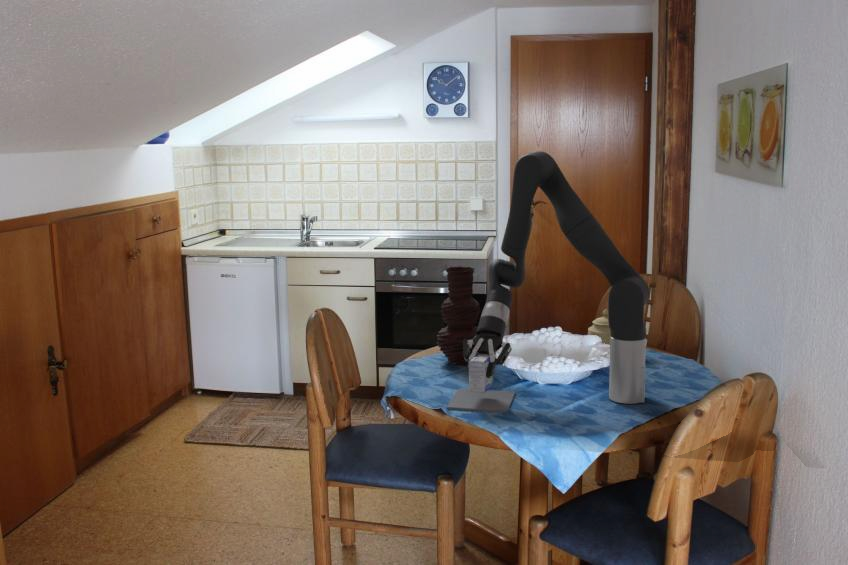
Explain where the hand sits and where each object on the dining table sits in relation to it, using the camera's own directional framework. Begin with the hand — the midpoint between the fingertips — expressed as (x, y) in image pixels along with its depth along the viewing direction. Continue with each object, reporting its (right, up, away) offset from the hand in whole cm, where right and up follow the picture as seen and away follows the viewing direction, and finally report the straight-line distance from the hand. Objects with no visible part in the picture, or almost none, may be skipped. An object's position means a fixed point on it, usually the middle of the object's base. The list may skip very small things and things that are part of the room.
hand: (478, 375), depth 217 cm
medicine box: (+1, -4, +3) cm, 5 cm away
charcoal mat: (+1, -7, +3) cm, 8 cm away
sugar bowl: (+46, +1, +47) cm, 65 cm away
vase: (-3, 0, +41) cm, 41 cm away
